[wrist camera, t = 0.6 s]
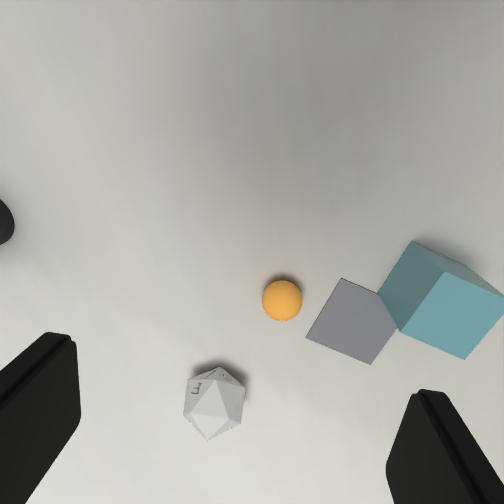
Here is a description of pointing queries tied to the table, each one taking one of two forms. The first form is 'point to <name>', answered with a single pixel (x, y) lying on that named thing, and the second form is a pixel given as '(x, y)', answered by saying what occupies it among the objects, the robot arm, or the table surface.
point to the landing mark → (353, 322)
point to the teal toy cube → (440, 301)
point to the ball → (282, 300)
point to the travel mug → (5, 223)
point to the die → (214, 402)
